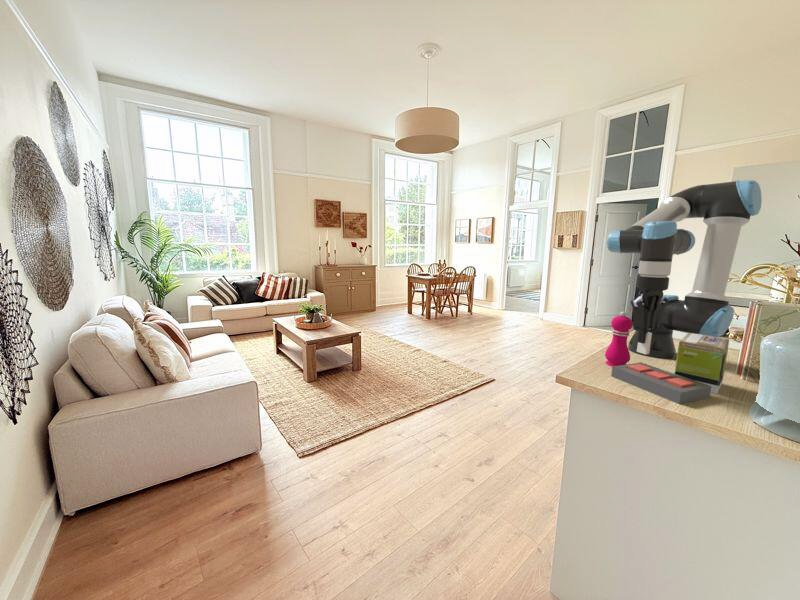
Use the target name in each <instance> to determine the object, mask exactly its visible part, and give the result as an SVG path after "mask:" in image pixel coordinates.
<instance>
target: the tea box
mask: <svg viewBox="0 0 800 600" xmlns="http://www.w3.org/2000/svg"><path fill="white" fill-rule="evenodd" d="M685 334H686V335H684V336H683V337H682V338H681V340H679V341H678V346H677V352H676V360H675V367H674V372H673V373H674V374H677V375H680V376H683V377H686V378H689V379H691V380H694V381H697V382H700V383H703V384H706V385H709V386H712V387H711V392H710V394H711V393H712V394H716V395H717V394H718V393H719V391H720V388H721V386H722V384H723V381H724V375H725V368H726V362H727V357H728V351H729V344H730V339H729V338H727V337H725V338H724V337H721V336H720V337H714V336H708V335H700V334H693V333H685Z"/></svg>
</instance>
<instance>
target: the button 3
mask: <svg viewBox="0 0 800 600" xmlns="http://www.w3.org/2000/svg"><path fill="white" fill-rule="evenodd" d="M666 382H667V383H669V384H672V385H675V386H678V387H680V388H685V387H690V386H694V383H693V382H690V381H687V380H685V379H682V378H679V377H678V378H673V379H667V380H666Z"/></svg>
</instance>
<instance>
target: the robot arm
mask: <svg viewBox="0 0 800 600" xmlns="http://www.w3.org/2000/svg"><path fill="white" fill-rule="evenodd" d="M762 202H763V201H762V191H761V186H760V184H759V183H758V182H757V180H753V179H747V180H740V179H739V180H735V181H727V182H719V183H709V184H700V185H699V184H698V185H695V186H692V187H691V186H690V187H688V188H685V189H682V190H681V191H678V192H676V193H674V194H673V195H671V196H669V197H668V198H666V199H665V200H663V201H662V202H661V203H660V205H659V207H658V208H656V209H654V210H653V211H651V212H650V213H648V214H647V215H646V216H644V217H642V218H641V219H640V220H638V221H637V222H635V223H634V224H632V225H631V226H629V227H628V228H626V229H623V230H621V229H619V230H613V231H611V232H610V233H609V234H608V236H607V239H606V248H607V250H608V251H609V252H611V253H617V254H618V253H619V254H640V255H639V256H640V257H639V263H638V271H637V273H638V274H639V275H638V276H637V277H636V285H635V287H636V288H637V289H639V292H638V294H637V297H636V298H635V299H631V301H630V305H631V307H632V323H633V326H632V328H633V330H634V333H633V335H632V336H631V338H630V340H629V342H628V343H627V347H628V350H629V351H631V352H634V353H636V354H639V355H643V356H648V357H653V358H663V359H672V358H674V357H676V354H677V350H676V347H675V341H674V337H673V333H674V331H676V332H680V333H684V334H688V333H693V334H700V335H708V336H714V337H720V338H721V337H722V336H723V335H724V334H725V333H726V332H727V331H728V329H729V327H730V325H731V324H732V321H733V318H734V315H735V313H734V312H735V309H734V307H733V306H731V305H729V303H730V300H729V299H728V298H727V297H726V295H725V294H726V291H727V287H728V282H729V278H730V275H731V270H732V266H733V261H734V258H735V253H736V251H737V246H738V241H739V238H740V234H741V231H742V227H743V226H745V225H746V224H748V223H749V222H750V219H751V216H752V217H753V216H756V215H759V213H760V211H761V208H762ZM697 218H700V219H701V218H703V223H704V224H705V225H706V226H707V227H706V231H705V235H704V239H703V244H702V248H701V252H700V257H699V260H698V264H697V265H698V266H697V269H696V274H695V277H694V281H693V286H692V289H691V292H689V293H688V294H686V295H685V297H684V299H680V298H679V296H678V295H675V294H664V291H667V290H669V284H670V278H669V277H668V276H670V275H671V271H672V263H673V256H674V255H677V256H679V255H681V254H685V253H688V252H690V251H691V250H692V249H693V247H695V244H696V237H695V235H694V234H693V232H692V231H690V230H687V229H685V228H678V224H677V223H678V222H682V221H683V220H685V219H697Z"/></svg>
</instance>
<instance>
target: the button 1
mask: <svg viewBox="0 0 800 600" xmlns="http://www.w3.org/2000/svg"><path fill="white" fill-rule="evenodd" d="M627 368H628V369H631V370H634V371H637V372H639V373H642V372H648V371H652V368H650V367H647V366H644V365H641V364H637V365H630V366H628V367H627Z"/></svg>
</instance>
